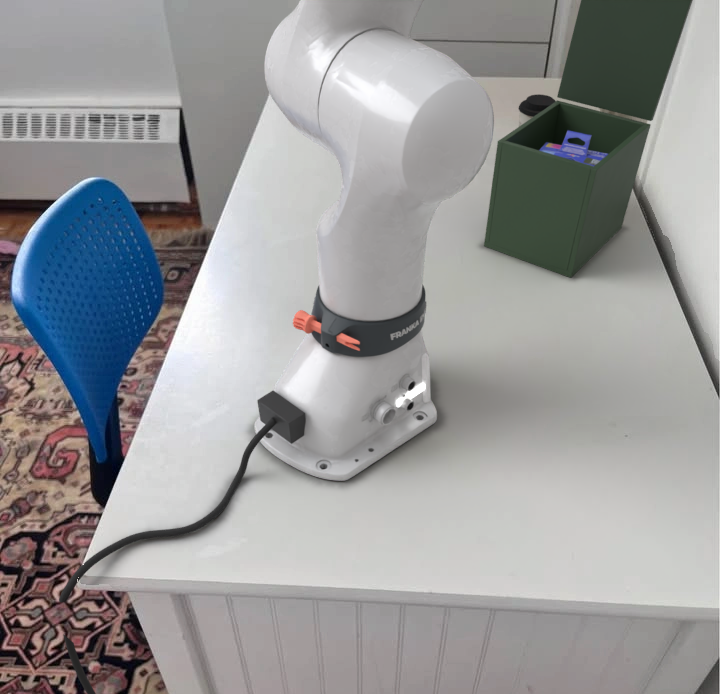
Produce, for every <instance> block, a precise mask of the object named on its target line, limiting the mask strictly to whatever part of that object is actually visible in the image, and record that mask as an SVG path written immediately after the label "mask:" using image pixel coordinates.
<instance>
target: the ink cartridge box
mask: <svg viewBox="0 0 720 694" xmlns="http://www.w3.org/2000/svg"><path fill="white" fill-rule="evenodd" d="M591 136H592V135H587V134H583V133H578V132H573V131H569V130H567V133H566V136H565V138H564V141H563V143H562V145H558V144H553V143H548V142H546V143H545V144H544V145H543V147H542V148H541V149H540V150H539V151H543V152H546V153H550V154H553V155H556V156H560V157H563V158H567V159H570V160H574V161H577V162H580V163H584V164H587V165H591V166H593V167H594V166H595V165H596V164H597V163H598V162H600V161H601V160H602V159H603V158H604V157H606V156H607V155H608V154H607V153H602V152H596V151H591V150H588V147H589V144H590V140H591ZM569 138H579V139H581V140H583V141H584V142H585V145H583V146H581V145H577V144H571V143H568V139H569Z"/></svg>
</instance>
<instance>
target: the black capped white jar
mask: <svg viewBox="0 0 720 694" xmlns="http://www.w3.org/2000/svg"><path fill="white" fill-rule="evenodd" d="M556 101H557V100H555V98H553V97H552V96H549V95H548V94H547V95H546V94H531V95H529V96H526V99H524V100H522V101H521V102H520V103H519V106H518V107H517V108H518V111H519V115H518V127H519V126H521V125H522V124H524V123H525V122H527V121H528V120H530V119H531V118H533V117H534V116H535V115H537V114H538V113H540V112H541V111H543V110H544V109H546V108H547V107H549V106H550V105H552V104H553V103H555V102H556Z"/></svg>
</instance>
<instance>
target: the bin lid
mask: <svg viewBox="0 0 720 694" xmlns="http://www.w3.org/2000/svg"><path fill="white" fill-rule="evenodd" d="M692 4H693V0H580V4H579V7H578V11H577V14H576V19H575V23H574V28H573V31H572V35H571V39H570V42H569V43H570V44H569V47H568V50H567V51H568V52H567V55H566V60H565V64H564V68H563V72H562V76H561V79H560V84H559V87H558V92H557V96H556V97H557V98H559V99H563V100H566V101H570V102H574V103H578V104H582V105H585V106H590V107H594V108H598V109H601V110H606V111H610V112H614V113H618V114H621V115H625V116H629V117H632V118H637V119H641V120H644V121H645V120H646V121H649V122H653V121H654V118H655V115H656V111H657V109H658V106H659V103H660V100H661V96H662V94H663V91H664V88H665V84H666V82H667V78H668V76H669V73H670V70H671V67H672V64H673V60H674V58H675V55H676V51H677V49H678V45H679V43H680V40H681V37H682V33H683V30H684V28H685V25H686V21H687V19H688V16H689V13H690V10H691V7H692Z"/></svg>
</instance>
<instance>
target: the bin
mask: <svg viewBox="0 0 720 694" xmlns="http://www.w3.org/2000/svg"><path fill="white" fill-rule="evenodd" d="M555 101H556V102H555V103H553V104H552V105H550V106H549V107H547V108H546V109H544V110H543V111H541V112H540V113H538V114H537V115H535V116H534V117H533V118H531V119H530V120H528V121H527V122H525V123H524V124H522V125H521V126H519V125H518V127H516V128H515V129H513V130H512V131H511V132H509V133H508V134H506V135H505V136H503V137H502V138H500V139H499V140H497V143H496V144H497V145H496V152H495V160H494V168H493V175H492V182H491V189H490V197H489V204H488V211H487V212H488V213H487V219H486V228H485V235H484V242H483V247H485V248H488V249H490V250H494V251H496V252H499V253H502V254H504V255H507V256H509V257H513V258H515V259H518V260H521V261H524V262H527V263H529V264H532V265H535V266H537V267H540V268H542V269H545V270H548V271H551V272H554V273H555V274H560V275H563V276H565V277H568V278H572V277H573V276H574V275H575V274H576V273H578V272H579V270H580V269H581V268H582V267H583V266H585V265H586V263H588V262H589V261H590V260H591V259H592V258H593V257H594V256H595V255H596V254H597V253H598V252H599V251H600V250H601V249H602V248H603V247H604V246H605V245H606V244H607V243H608V242H609V241H610V240H611V239H612V238H613V237H614V236H615V235H616V234H617V233H618V232H619V231H620V230H621V229H622V227H623V224H624V220H625V217H626V214H627V209H628V206H629V204H630V199H631V196H632V192H633V189H634V188H633V187H634V185H635V182H636V177H637V175H638V171H639V167H640V164H641V161H642V157H643V153H644V149H645V146H646V143H647V140H648V135H649V132H650V129H651V125H652V124H651V123H647V122H643V121H640V120H636V119H631V118H629V117H628V118H627V117H623V116H620V115H616V114H612V113H608V112H604V111H600V110H596V109H592V108H588V107H585V106H580V105H577V104H573V103H569V102H566V101H561V100H555ZM567 130H569V131H573V132H578V133H583V134H587V135H592V136H591V140H590V144H589V147H588V150H591V151H596V152H602V153H607V154H608V155H607V156H606V157H604V158H603V159H602V160H601V161H600V162H598V163H597V164H596V165H595V166H594V167H593V166H591V165H587V164H584V163H580V162H577V161H574V160H570V159H567V158H563V157H560V156H556V155H553V154H550V153H546V152H543V151H539V150H540V149H541V148H542V147H543V145H544V144H545V143H546V142H548V143H553V144H558V145H562V143H563V141H564V138H565V136H566V133H567ZM568 143H571V144H577V145H581V146H583V145H585V142H584V141H583V140H581V139H579V138H569V139H568Z"/></svg>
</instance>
